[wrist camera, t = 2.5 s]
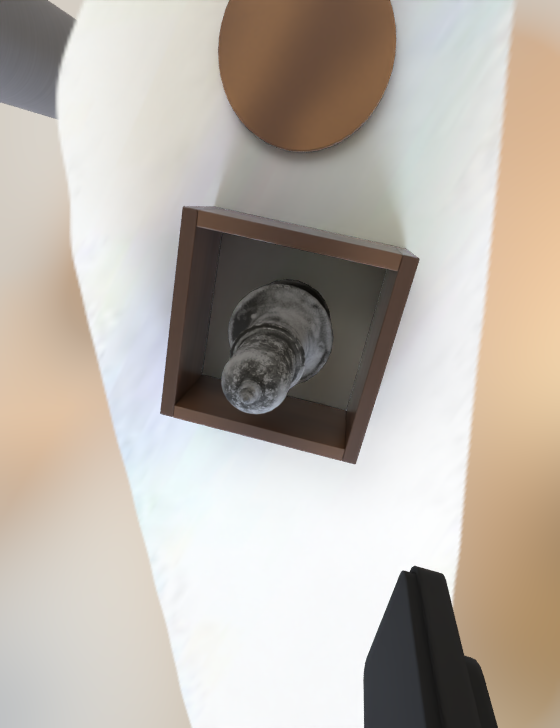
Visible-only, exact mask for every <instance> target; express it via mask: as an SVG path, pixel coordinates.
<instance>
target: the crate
mask: <svg viewBox="0 0 560 728" xmlns="http://www.w3.org/2000/svg"><path fill="white" fill-rule="evenodd" d="M222 232H223V233H228V234H232V235H237V236H241V237H246V238H250V239H255V240H259V241H264V242H268V243H273V244H277V245H282V246H286V247H291V248H295V249H299V250H304V251H308V252H313V253H317V254H322V255H326V256H331V257H335V258H340V259H344V260H349V261H353V262H358V263H362V264H367V265H371V266H376V267H380V268H385V269H387V270H386V274H385V277H384V281H383V284H382V288H381V291H380V295H379V298H378V302H377V305H376V309H375V312H374V316H373V319H372V323H371V326H370V330H369V333H368V336H367V340H366V343H365V347H364V350H363V354H362V357H361V361H360V364H359V368H358V371H357V375H356V378H355V382H354V385H353V389H352V392H351V396H350V399H349V403H348V406H347V410H342V409H338V408H334V407H330V406H326V405H322V404H318V403H314V402H310V401H306V400H302V399H298V398H294V397H290V396H286V398H285V399H284V400H283V401H282V403H281V404H280V405H279V406H277V407H276V408H274V409H273V410H272V411H269V412H266V413H262V414H251V413H246V412H244V411H241V410H239V409H237V408H236V407H234V406H233V405H232V404H231V403H230V402H229V401H228V400H227V398H226V397H225V395H224V393H223V390H222V385H221V379H218V378H214V377H210V376H206V375H202V370H203V363H204V356H205V350H206V343H207V336H208V329H209V322H210V315H211V308H212V301H213V294H214V287H215V280H216V273H217V266H218V259H219V252H220V245H221V238H222ZM418 263H419V258H418V257H417V256H415V255H414V254H413V253H411V252H410V251H409V250H407V249H405V248H401V247H396V246H394V247H393V246H392V245H387V244H383V243H378V242H373V241H369V240H364V239H360V238H355V237H351V236H346V235H341V234H337V233H332V232H328V231H323V230H319V229H314V228H309V227H305V226H300V225H296V224H291V223H287V222H282V221H278V220H273V219H268V218H264V217H259V216H255V215H250V214H246V213H241V212H236V211H232V210H227V209H223V208H218V207H201V206H184V207H183V210H182V219H181V228H180V238H179V247H178V256H177V265H176V274H175V283H174V293H173V302H172V311H171V320H170V329H169V338H168V348H167V357H166V366H165V375H164V384H163V393H162V402H161V412H160V414H163V415H167V416H171V417H174V418H178V419H182V420H185V421H189V422H193V423H197V424H201V425H205V426H209V427H212V428H216V429H220V430H224V431H228V432H232V433H236V434H239V435H243V436H247V437H251V438H255V439H259V440H263V441H266V442H270V443H274V444H278V445H282V446H286V447H290V448H294V449H297V450H301V451H305V452H309V453H313V454H317V455H321V456H324V457H328V458H332V459H336V460H340V461H344V462H348V463H352V464H356V461H357V458H358V455H359V452H360V449H361V445H362V442H363V439H364V436H365V433H366V429H367V426H368V423H369V420H370V417H371V413H372V410H373V407H374V404H375V400H376V397H377V394H378V391H379V388H380V384H381V381H382V378H383V375H384V372H385V368H386V365H387V362H388V359H389V356H390V352H391V349H392V346H393V343H394V340H395V336H396V333H397V330H398V327H399V324H400V320H401V317H402V314H403V311H404V307H405V304H406V301H407V298H408V295H409V291H410V288H411V285H412V282H413V279H414V275H415V272H416V269H417V266H418Z"/></svg>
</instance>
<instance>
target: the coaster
mask: <svg viewBox="0 0 560 728" xmlns="http://www.w3.org/2000/svg"><path fill="white" fill-rule="evenodd" d="M395 50H396V25H395V19H394V12H393V9H392V5H391V2H390V0H229V2H228V5H227V7H226V10H225V13H224V16H223V20H222V23H221V29H220V35H219V46H218V57H219V69H220V75H221V80H222V84H223V87H224V90H225V93H226V96H227V98H228V101H229V103H230V104H231V106H232V108H233V110H234V112H235V113H236V115H237V116H238V118H239V119H240V120H241V122H242V123H243V124H244V125H245V126H246V127H247V128H248V129H249V130H250V131H251V132H252V133H253V134H255V135H256V136H257V137H258V138H260V139H261V140H263V141H264V142H266V143H268V144H270V145H272V146H274V147H276V148H279V149H283V150H286V151H292V152H312V151H319V150H322V149H326V148H329V147H331V146H334V145H336V144H338V143H340V142H342V141H343V140H345V139H346V138H348V137H349V136H351V135H352V134H353V133H354V132H356V131H357V130H358V129H359V128H360V127H361V126H362V125H363V124H364V123H365V122H366V121H367V120H368V119H369V117H370V116H371V115H372V113H373V112H374V110H375V109H376V107H377V106H378V104H379V102H380V100H381V99H382V97H383V95H384V92H385V90H386V88H387V85H388V82H389V79H390V76H391V72H392V69H393V64H394V59H395Z"/></svg>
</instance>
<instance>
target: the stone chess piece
mask: <svg viewBox="0 0 560 728" xmlns="http://www.w3.org/2000/svg"><path fill="white" fill-rule="evenodd" d="M228 338H229V343H230V348H231V350H230V359H229V361H228V362H227V363H226V365H225V367H224V370H223V372H222V379H221V385H222V390H223V393H224V395H225V397H226V398H227V400H228V401H229V402H230V403H231V404H232V405H233V406H234V407H236V408H237V409H239V410H241V411H244V412H246V413H251V414H262V413H266V412H269V411H272V410H273V409H274V408H276V407H277V406H279V405H280V404H281V403H282V401H283V400H284V399H285V398H286V395H287V393H288V391H289V389H290V388H292V387H293V386H294V385H296V384H299V383H302V382H305V381H307V380H309V379H310V378H311V377H313V376H314V375H316V374H317V373H318V372H319V371H320V370H321V368H322V367H323V366H324V365H325V364H326V362H327V359H328V357H329V355H330V353H331V349H332V342H333V332H332V325H331V322H330V314H329V310H328V307H327V305H326V302H325V300H324V299H323V298H322V297H321V295H320V294H319V293H318V292H317V291H316V290H315V289H313V288H312V287H311V286H309V285H308V284H305V283H303V282H300V281H296V280H288V279H286V280H280V281H275V282H273V283H270V284H268V285H266V286H262V287H260V288H258V289H256V290H253V291H251V292H250V293H249V294H248V295H246V296H245V297H244V298H243V299H242V300H241V301H240V302H239V303H238V305H237V306H236V308H235V309H234V311H233V313H232V316H231V319H230V322H229V332H228Z"/></svg>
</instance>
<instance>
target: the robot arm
mask: <svg viewBox="0 0 560 728" xmlns="http://www.w3.org/2000/svg"><path fill="white" fill-rule="evenodd" d="M364 728H498V726H497V723H496V719H495V716H494V712H493V708H492V705H491V701H490V697H489V693H488V690H487V686H486V683H485V679H484V676H483V673H482V670H481V667H480V665H479V664H478V663H477V661H476V660H475V659H473V658H471V657H467V656H464V653H463V649H462V645H461V641H460V636H459V633H458V628H457V624H456V621H455V616H454V612H453V608H452V603H451V599H450V595H449V591H448V587H447V583H446V579H445V576H444V575H443V574H442V573H438V572H435V571H431V570H428V569H424V568H421V567H417V566H413V567H412V568H411V570H410V572H407V571H402V572H401V573H400V576H399V578H398V581H397V583H396V586H395V588H394V591H393V593H392V596H391V598H390V601H389V603H388V606H387V608H386V611H385V613H384V616H383V618H382V621H381V623H380V626H379V628H378V631H377V633H376V636H375V638H374V641H373V643H372V646H371V648H370V651H369V653H368V656H367V659H366V662H365V668H364Z"/></svg>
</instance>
